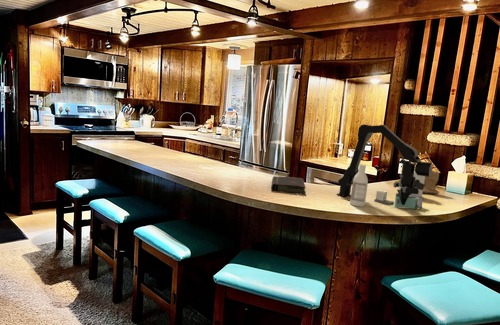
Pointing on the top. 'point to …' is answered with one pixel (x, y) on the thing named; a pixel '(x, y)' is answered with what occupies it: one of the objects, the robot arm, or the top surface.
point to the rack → (418, 200)
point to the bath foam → (359, 187)
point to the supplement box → (420, 182)
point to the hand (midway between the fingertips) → (403, 204)
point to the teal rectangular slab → (409, 203)
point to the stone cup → (431, 183)
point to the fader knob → (381, 195)
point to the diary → (288, 184)
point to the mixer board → (384, 201)
